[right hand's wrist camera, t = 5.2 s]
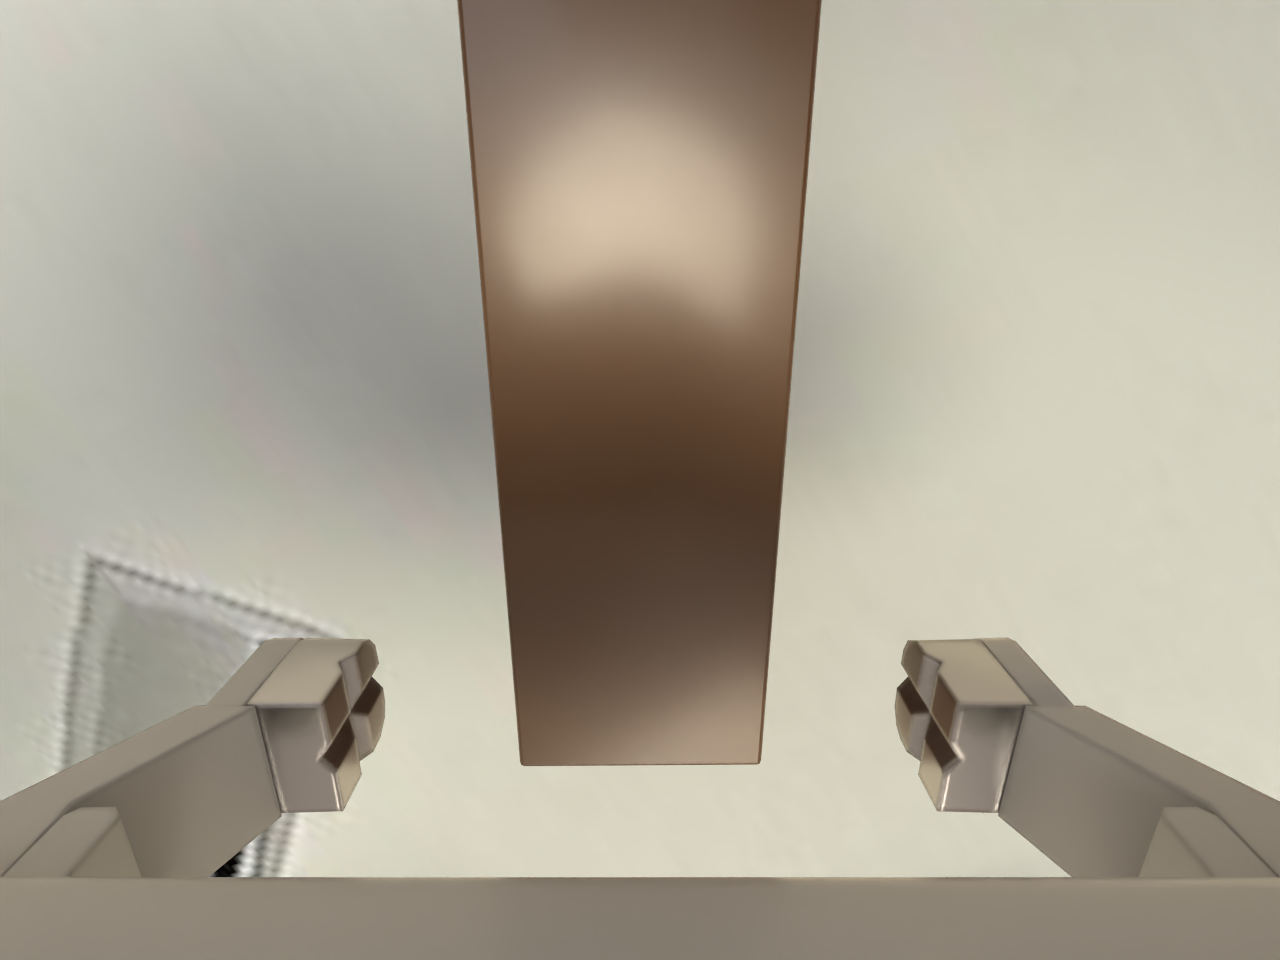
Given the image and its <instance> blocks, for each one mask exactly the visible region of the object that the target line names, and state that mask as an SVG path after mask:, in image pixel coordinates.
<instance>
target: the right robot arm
mask: <svg viewBox="0 0 1280 960" xmlns="http://www.w3.org/2000/svg"><path fill="white" fill-rule="evenodd" d="M378 664H379V661H378V656H377V652H376V647H375V644H374V643H372V642H371V641H370V640H369V639H322V638H306V639H303V638H273V639H269V640H266V641H264V642H263V643H262V644H261V646H260V647H259V648H258V649H257V650H256V651H255V652H254V653H253V654H252V655H251V657H250V658H249V659H248V660H247V661H246V662H245V663H244V664H243V665H242V666H241V668H240V669H239V670H238V671H237V672H236V673H235V674H234V675H233V676H232V677H231V679H230V680H229V681H228V682H227V683H226V684H225V685H224V686H223V687H222V688H221V690H220V691H219V692H218V693H217V694H216V695H215V696H214V697H213V698H212V699H211V701H210V702H209V703H208V704H207V705H206V706H194V707H191V708H189V709H187V710H185V711H183V712H181V713H179V714H177V715H175V716H173V717H171V718H169V719H167V720H165V721H163V722H161V723H159V724H157V725H155V726H153V727H151V728H149V729H147V730H145V731H143V732H141V733H139V734H136V735H134V736H132V737H130V738H128V739H126V740H124V741H122V742H120V743H118V744H116V745H114V746H112V747H110V748H108V749H106V750H104V751H102V752H100V753H98V754H96V755H94V756H92V757H90V758H88V759H86V760H83V761H81V762H79V763H77V764H75V765H73V766H71V767H69V768H67V769H65V770H63V771H61V772H59V773H57V774H55V775H53V776H51V777H49V778H47V779H45V780H43V781H41V782H39V783H37V784H35V785H33V786H31V787H28V788H26V789H24V790H22V791H20V792H18V793H16V794H14V795H12V796H10V797H8V798H6V799H4V800H2V801H0V960H1280V802H1279V801H1277V800H1275V799H1273V798H1271V797H1269V796H1267V795H1265V794H1263V793H1261V792H1259V791H1257V790H1255V789H1253V788H1251V787H1249V786H1247V785H1245V784H1243V783H1241V782H1239V781H1237V780H1235V779H1233V778H1231V777H1229V776H1227V775H1225V774H1223V773H1221V772H1219V771H1217V770H1214V769H1212V768H1210V767H1208V766H1206V765H1204V764H1202V763H1200V762H1198V761H1196V760H1194V759H1192V758H1190V757H1188V756H1186V755H1184V754H1182V753H1180V752H1178V751H1176V750H1174V749H1172V748H1170V747H1168V746H1166V745H1164V744H1162V743H1160V742H1158V741H1156V740H1154V739H1152V738H1149V737H1147V736H1145V735H1143V734H1141V733H1139V732H1137V731H1135V730H1133V729H1131V728H1129V727H1127V726H1125V725H1123V724H1121V723H1119V722H1117V721H1115V720H1113V719H1111V718H1109V717H1107V716H1105V715H1103V714H1101V713H1099V712H1097V711H1095V710H1093V709H1091V708H1089V707H1086V706H1074V705H1073V704H1072V703H1071V702H1070V701H1069V699H1068V698H1067V697H1066V696H1065V695H1064V694H1063V693H1062V692H1061V691H1060V690H1059V688H1058V687H1057V686H1056V685H1055V684H1054V683H1053V682H1052V681H1051V680H1050V679H1049V677H1048V676H1047V675H1046V674H1045V673H1044V672H1043V671H1042V670H1041V669H1040V668H1039V666H1038V665H1037V664H1036V663H1035V662H1034V661H1033V660H1032V659H1031V658H1030V657H1029V655H1028V654H1027V653H1026V652H1025V651H1024V650H1023V649H1022V648H1021V647H1020V646H1019V644H1018V643H1017V642H1016V641H1014V640H1012V639H1009V638H980V639H960V640H908V641H907V643H906V645H905V648H904V650H903V656H902V661H901V664H902V666H903V668H904V669H905V671H906V673H907V675H908V677H907V678H906V679H905V680H904V681H903V682H902V683H901V684H900V686H899V687H898V688H897V693H896V701H895V715H896V725H897V729H898V732H899V735H900V739H901V741H902V743H903V745H904V747H905V749H906V751H907V752H908V753H910V754H911V755H912V756H914V757H915V758H917V759H918V760H920V761H921V762H920V768H919V773H918V775H919V777H920V779H921V781H922V783H923V785H924V787H925V789H926V791H927V792H928V794H929V796H930V798H931V800H932V802H933V804H934V806H935V808H936V810H937V811H950V812H985V813H999V814H998V816H999V817H1000V818H1002V819H1003V820H1004V821H1005V822H1006V823H1008V824H1009V825H1010V826H1011V827H1012V828H1014V829H1015V830H1016V831H1017V832H1018V833H1020V834H1021V835H1022V836H1023V837H1024V838H1026V839H1027V840H1028V841H1029V842H1030V843H1032V844H1033V845H1034V846H1035V847H1036V848H1038V849H1039V850H1040V851H1041V852H1042V853H1044V854H1045V855H1046V856H1047V857H1048V858H1050V859H1051V860H1052V861H1053V862H1054V863H1056V864H1057V865H1058V866H1059V867H1060V868H1062V869H1063V870H1064V871H1065V872H1066V873H1068V874H1069V875H1070V876H1071V877H599V878H565V877H209V876H210V875H211V874H213V873H214V872H215V871H216V870H217V869H219V868H220V867H221V866H222V865H223V864H225V863H226V862H227V861H228V860H229V859H231V858H232V857H233V856H234V855H235V854H237V853H238V852H239V851H240V850H241V849H243V848H244V847H245V846H246V845H247V844H249V843H250V842H251V841H252V840H253V839H255V838H256V837H257V836H258V835H259V834H261V833H262V832H263V831H264V830H266V829H267V828H268V827H269V826H270V825H272V824H273V823H274V822H275V821H276V820H278V819H279V818H280V817H281V813H294V812H329V811H343V810H344V808H345V806H346V804H347V802H348V800H349V798H350V796H351V794H352V793H353V791H354V789H355V787H356V785H357V783H358V781H359V779H360V777H361V775H362V773H361V768H360V762H359V761H360V760H362V759H363V758H365V757H366V756H368V755H369V754H370V753H372V752H373V751H374V749H375V747H376V745H377V743H378V741H379V739H380V736H381V732H382V727H383V723H384V718H385V699H384V692H383V688H382V687H381V686H380V684H379V683H378V682H377V681H376V680H375V679H374V678H373V677H372V675H373V673H374V671H375V669H376V668H377V666H378Z"/></svg>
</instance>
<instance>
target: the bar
mask: <svg viewBox="0 0 1280 960" xmlns="http://www.w3.org/2000/svg"><path fill="white" fill-rule="evenodd" d="M821 1H822V0H457V2H458V14H459V26H460V39H461V51H462V63H463V75H464V87H465V99H466V111H467V123H468V135H469V148H470V160H471V172H472V184H473V196H474V208H475V220H476V232H477V244H478V257H479V269H480V281H481V293H482V305H483V317H484V329H485V341H486V353H487V366H488V378H489V390H490V402H491V414H492V426H493V438H494V450H495V462H496V475H497V487H498V499H499V511H500V523H501V535H502V547H503V559H504V571H505V584H506V596H507V608H508V620H509V632H510V644H511V656H512V668H513V680H514V693H515V705H516V717H517V729H518V741H519V753H520V762H521V765H523V766H596V765H736V764H759V763H760V761H761V753H762V741H763V728H764V716H765V703H766V691H767V678H768V666H769V653H770V640H771V628H772V615H773V603H774V590H775V578H776V565H777V553H778V540H779V528H780V515H781V503H782V490H783V478H784V465H785V453H786V440H787V427H788V415H789V402H790V390H791V377H792V365H793V352H794V340H795V327H796V315H797V302H798V290H799V277H800V265H801V252H802V239H803V227H804V214H805V202H806V189H807V177H808V164H809V152H810V139H811V127H812V114H813V102H814V89H815V77H816V64H817V52H818V39H819V26H820V14H821Z"/></svg>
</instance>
